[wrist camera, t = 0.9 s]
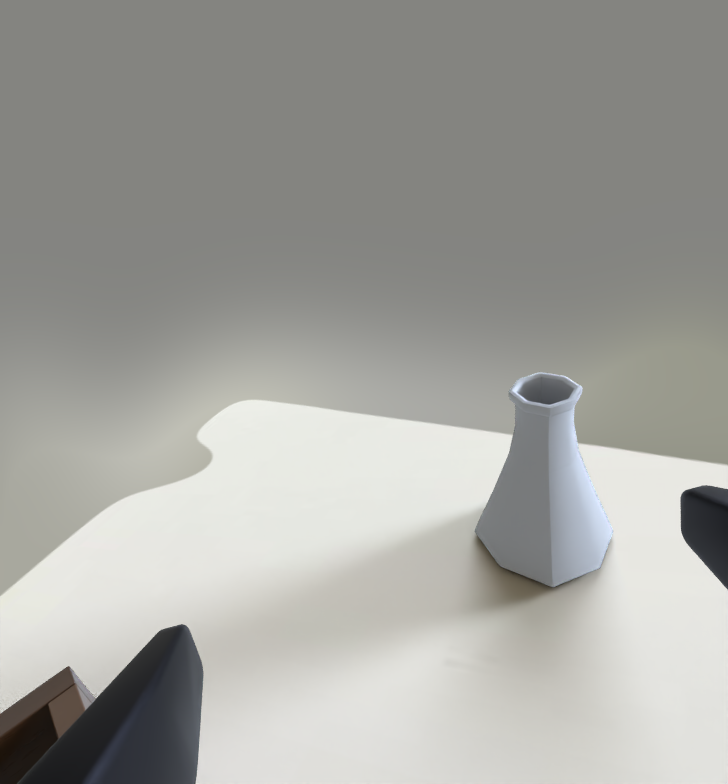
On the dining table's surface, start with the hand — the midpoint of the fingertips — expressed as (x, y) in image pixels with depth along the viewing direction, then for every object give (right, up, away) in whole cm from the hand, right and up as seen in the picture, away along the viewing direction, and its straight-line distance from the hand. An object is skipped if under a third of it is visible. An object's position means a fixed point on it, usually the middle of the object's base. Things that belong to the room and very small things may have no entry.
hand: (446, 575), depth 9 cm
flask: (+9, -5, +20) cm, 23 cm away
